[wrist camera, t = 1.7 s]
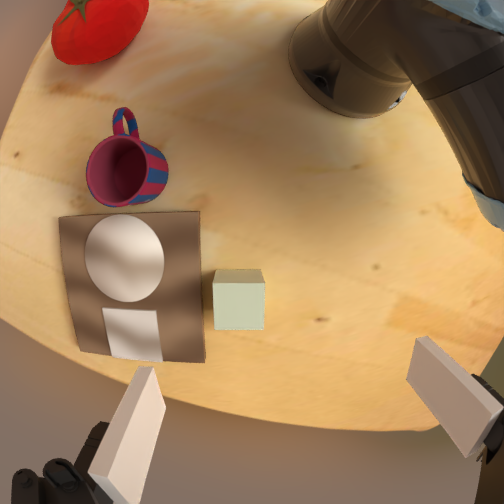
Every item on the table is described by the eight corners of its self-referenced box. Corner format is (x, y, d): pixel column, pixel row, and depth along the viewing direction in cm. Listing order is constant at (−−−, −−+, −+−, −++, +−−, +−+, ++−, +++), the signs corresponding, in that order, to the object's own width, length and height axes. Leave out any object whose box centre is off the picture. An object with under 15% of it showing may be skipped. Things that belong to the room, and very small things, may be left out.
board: (65, 216, 29) (57, 218, 27) (199, 211, 30) (197, 212, 28) (85, 346, 33) (79, 352, 31) (205, 356, 34) (204, 364, 32)
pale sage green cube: (216, 269, 32) (212, 283, 27) (260, 269, 32) (265, 283, 27) (217, 310, 33) (214, 329, 28) (259, 310, 33) (263, 329, 28)
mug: (113, 204, 29) (85, 208, 23) (118, 120, 27) (91, 105, 21) (167, 203, 30) (149, 206, 23) (172, 115, 28) (156, 96, 21)
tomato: (173, 27, 25) (154, -21, 15) (92, 91, 26) (48, 64, 16) (132, -8, 23) (109, -48, 13) (61, 50, 24) (22, 22, 14)
